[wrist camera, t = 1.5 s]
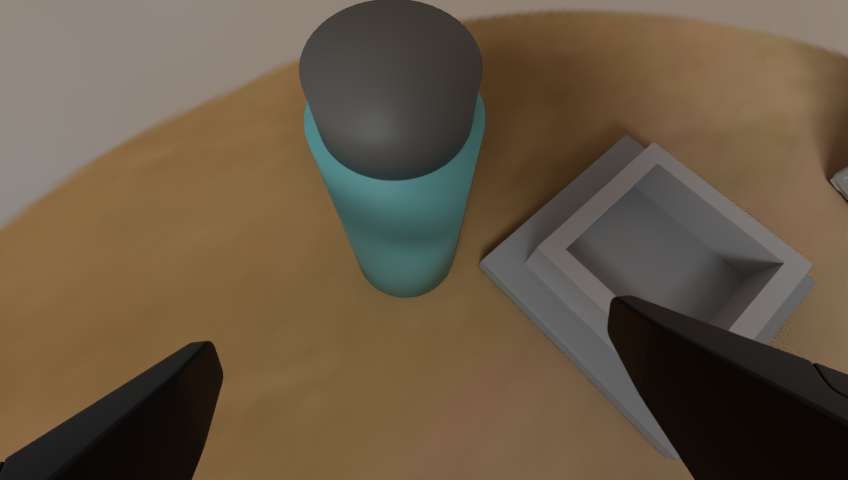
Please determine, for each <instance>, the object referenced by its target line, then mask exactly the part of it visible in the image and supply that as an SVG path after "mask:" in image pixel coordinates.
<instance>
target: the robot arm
mask: <svg viewBox="0 0 848 480" xmlns="http://www.w3.org/2000/svg"><path fill="white" fill-rule="evenodd" d="M607 332H608V335H609V338H610V340H611V342H612V344H613V346H614V348H615V350H616V352H617V354H618V355H619V357H620V359H621V361H622V363H623V365H624V367H625V369H626V371H627V373H628V375H629V377H630V379H631V381H632V383H633V384H634V386H635V388H636V390H637V392H638V393H639V395H640V397H641V398H642V400H643V402H644V403H645V405H646V406H647V408H648V409H649V411H650V412H651V414H652V415H653V417H654V418H655V420H656V421H657V423H658V424H659V426H660V428H661V429H662V431H663V432H664V434H665V435H666V437H667V438H668V440H669V441H670V443H671V444H672V446H673V447H674V449H675V450H676V452H677V453H678V455H679V456H680V458H681V459H682V461H683V462H684V464H685V466H686V467H687V469H688V470H689V472H690V473H691V475H692V476H693V478H694V479H695V480H848V375H847V374H845V373H842V372H839V371H836V370H834V369H831V368H828V367H825V366H823V365H820V364H817V363H814V364H812V362H811V361H809V360H806V359H804V358H801V357H798V356H795V355H793V354H790V353H787V352H784V351H782V350H779V349H776V348H774V347H771V346H768V345H765V344H763V343H760V342H757V341H755V340H752V339H749V338H746V337H744V336H741V335H738V334H736V333H733V332H730V331H727V330H725V329H722V328H719V327H717V326H714V325H711V324H708V323H706V322H703V321H700V320H698V319H695V318H692V317H689V316H687V315H684V314H681V313H679V312H676V311H673V310H670V309H668V308H665V307H662V306H660V305H657V304H654V303H651V302H649V301H646V300H643V299H641V298H638V297H635V296H632V295H625V296H616V297H614V298H612V300H611V302H610V308H609V316H608V324H607ZM222 382H223V370H222V367H221V364H220V361H219V358H218V355H217V352H216V349H215V346H214V344H213V343H212V342H210V341H202V342H193V343H190V344H188V345H186V346H185V347H183V348H181V349H180V350H178V351H177V352H175V353H173V354H172V355H170V356H169V357H167V358H165V359H164V360H162V361H161V362H159V363H157V364H156V365H154V366H153V367H151V368H149V369H148V370H146V371H145V372H143V373H142V374H140V375H138V376H137V377H135V378H134V379H132V380H130V381H129V382H127V383H126V384H124V385H122V386H121V387H119V388H118V389H116V390H114V391H113V392H111V393H110V394H108V395H106V396H105V397H103V398H102V399H100V400H98V401H97V402H95V403H94V404H92V405H90V406H89V407H87V408H86V409H84V410H82V411H81V412H79V413H78V414H76V415H74V416H73V417H71V418H70V419H68V420H66V421H65V422H63V423H62V424H60V425H58V426H57V427H55V428H54V429H52V430H51V431H49V432H47V433H46V434H44V435H43V436H41V437H39V438H38V439H36V440H35V441H33V442H31V443H30V444H28V445H27V446H25V447H23V448H22V449H20V450H19V451H17V452H15V453H14V454H12V455H11V456H9V457H7V458H6V459H5V462H0V480H192V477H193V475H194V472H195V470H196V467H197V465H198V462H199V460H200V457H201V454H202V452H203V449H204V446H205V443H206V439H207V436H208V433H209V429H210V425H211V422H212V418H213V414H214V411H215V407H216V404H217V400H218V396H219V393H220V389H221V386H222Z"/></svg>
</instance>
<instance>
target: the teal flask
mask: <svg viewBox="0 0 848 480" xmlns="http://www.w3.org/2000/svg"><path fill="white" fill-rule="evenodd" d="M481 75H482V59H481V55H480V51H479V48H478V46H477V43H476V41H475V40H474V38H473V36H472V35H471V33H470V32H469V31H468V30H467V29H466V28H465V26H464V25H462V24H461V23H460V22H459V21H458V20H457V19H455V18H454V17H452V16H451V15H450V14H448V13H446V12H444V11H442V10H441V9H438V8H436V7H433V6H431V5H428V4H425V3H421V2H416V1H411V0H374V1H368V2H364V3H360V4H357V5H354V6H351V7H349V8H346V9H344V10H342V11H340V12H338V13H336V14H335V15H333V16H331V17H330V18H328V19H327V20H326V21H325V22H323V23H322V24H321V25H320V26H319V27H318V28H317V29H316V30H315V31H314V32H313V34H312V35H311V37H310V38H309V39H308V41H307V43H306V45H305V47H304V49H303V52H302V55H301V58H300V65H299V76H300V81H301V85H302V88H303V91H304V94H305V96H306V99H307V104H306V107H305V113H304V129H305V134H306V138H307V141H308V144H309V146H310V149H311V151H312V154H313V156H314V158H315V161H316V163H317V165H318V168H319V170H320V173H321V175H322V177H323V180H324V182H325V184H326V187H327V189H328V192H329V194H330V196H331V199H332V201H333V203H334V206H335V208H336V211H337V213H338V215H339V218H340V220H341V222H342V225H343V227H344V230H345V232H346V234H347V237H348V239H349V241H350V244H351V246H352V249H353V251H354V253H355V256H356V258H357V260H358V263H359V265H360V268H361V270H362V272H363V274H364V276H365V277H366V278H367V280H368V281H369V282H370V283H371V284H372V285H373V286H374V287H375V288H377V289H378V290H380V291H382V292H383V293H386V294H388V295H391V296H395V297H416V296H420V295H423V294H425V293H428V292H429V291H431V290H433V289H434V288H436V287H437V286H438V285H439V284H440V283H441V282H442V281H443V280H444V279H445V278H446V276H447V275H448V273H449V271H450V269H451V266H452V263H453V259H454V255H455V251H456V246H457V242H458V238H459V234H460V230H461V226H462V221H463V217H464V213H465V209H466V205H467V201H468V196H469V192H470V188H471V184H472V180H473V176H474V171H475V167H476V163H477V159H478V155H479V151H480V147H481V142H482V138H483V134H484V130H485V121H486V116H485V107H484V103H483V99H482V97H481V94H480V92H479V87H480V81H481Z"/></svg>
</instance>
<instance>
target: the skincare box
mask: <svg viewBox="0 0 848 480" xmlns="http://www.w3.org/2000/svg"><path fill="white" fill-rule="evenodd" d="M830 182H831V183H832V184H833V186H834V187H835V188H836V189H837V190H838V191H840V192H841V193H842V195H843V196H844V197H845V198H846V199H847V200H848V167H846V168H844V169H842V170H840V171H838V172H837V173H835V174H834V176H833V178H832V179H830Z"/></svg>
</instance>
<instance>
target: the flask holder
mask: <svg viewBox="0 0 848 480" xmlns="http://www.w3.org/2000/svg"><path fill="white" fill-rule="evenodd" d="M812 266H813V264H812V263H811V262H809V261H808V260H807V259H805V258H804V257H803V256H802V255H800V254H799V253H798V252H796V251H795V250H794V249H792V248H791V247H790V246H789V245H787V244H786V243H785V242H783V241H782V240H781V239H779V238H778V237H777V236H776V235H774V234H773V233H772V232H770V231H769V230H768V229H767V228H765V227H764V226H763V225H761V224H760V223H759V222H757V221H756V220H755V219H754V218H752V217H751V216H750V215H748V214H747V213H746V212H744V211H743V210H742V209H741V208H739V207H738V206H737V205H735V204H734V203H733V202H731V201H730V200H729V199H728V198H726V197H725V196H724V195H722V194H721V193H720V192H719V191H717V190H716V189H715V188H713V187H712V186H711V185H709V184H708V183H707V182H706V181H704V180H703V179H702V178H700V177H699V176H698V175H696V174H695V173H694V172H693V171H691V170H690V169H689V168H687V167H686V166H685V165H683V164H682V163H681V162H680V161H678V160H677V159H676V158H674V157H673V156H672V155H671V154H669V153H668V152H667V151H665V150H664V149H663V148H661V147H660V146H659V145H658V144H656V143H655V142H653V143H652V144H650V145H649V146H648V147H647V148H646V149H645V148H644V147H643V146H642V145H640V144H639V143H638V142H637V141H635V140H634V139H633V138H631V137H630V136H629V135H628V134H626V135H625V136H624V137H623V138H621V139H620V140H619V141H618V142H617V143H616V144H615V145H613V146H612V147H611V148H610V149H609V150H608V151H607V152H605V153H604V154H603V155H602V156H601V157H600V158H599V159H597V160H596V161H595V162H594V163H593V164H592V165H590V166H589V167H588V168H587V169H586V170H585V171H584V172H582V173H581V174H580V175H579V176H578V177H577V178H576V179H574V180H573V181H572V182H571V183H570V184H569V185H568V186H566V187H565V188H564V189H563V190H562V191H561V192H560V193H558V194H557V195H556V196H555V197H554V198H553V199H551V200H550V201H549V202H548V203H547V204H546V205H545V206H543V207H542V208H541V209H540V210H539V211H538V212H537V213H535V214H534V215H533V216H532V217H531V218H530V219H529V220H527V221H526V222H525V223H524V224H523V225H522V226H521V227H519V228H518V229H517V230H516V231H515V232H514V233H512V234H511V235H510V236H509V237H508V238H507V239H506V240H504V241H503V242H502V243H501V244H500V245H499V246H498V247H496V248H495V249H494V250H493V251H492V252H491V253H490V254H488V255H487V256H486V257H485V258H484V259H483V260H482V261H481V262H480V265H479V268H480V269H481V270H482V271H483V272H484V273H485V274H486V275H487V276H488V277H489V278H490V279H491V280H492V281H493V282H494V283H495V284H496V285H497V286H498V287H499V288H500V289H501V290H502V291H503V292H504V293H505V294H506V295H507V296H508V297H509V298H510V299H511V300H512V301H513V302H514V303H515V304H516V305H517V306H518V307H519V309H520V310H521V311H522V312H523V313H524V314H525V315H526V316H527V317H528V318H529V319H530V320H531V321H532V322H533V323H534V324H535V325H536V326H537V327H538V328H539V329H540V330H541V331H542V332H543V333H544V334H545V335H546V336H547V337H548V338H549V339H550V340H551V341H552V342H553V343H554V344H555V345H556V346H557V347H558V348H559V349H560V351H561V352H562V353H563V354H564V355H565V356H566V357H567V358H568V359H569V360H570V361H571V362H572V363H573V364H574V365H575V366H576V367H577V368H578V369H579V370H580V371H581V372H582V373H583V374H584V375H585V376H586V377H587V378H588V379H589V380H590V381H591V382H592V383H593V384H594V385H595V386H596V387H597V388H598V389H599V390H600V391H601V393H602V394H603V395H604V396H605V397H606V398H607V399H608V400H609V401H610V402H611V403H612V404H613V405H614V406H615V407H616V408H617V409H618V410H619V411H620V412H621V413H622V414H623V415H624V416H625V417H626V418H627V419H628V420H629V421H630V422H631V423H632V424H633V425H634V426H635V427H636V428H637V429H638V430H639V431H640V432H641V433H642V435H643V436H644V437H645V438H646V439H647V440H648V441H649V442H650V443H651V444H652V445H653V446H654V447H655V448H656V449H657V450H658V451H659V452H660V453H661V454H662V455H663V456H664V457H665V458H669V459H674V460H678V458H679V457H680V456H679V455H678V453H677V452H676V450H675V449H674V447H673V446H672V444H671V443H670V441H669V440H668V438H667V437H666V435H665V434H664V432H663V431H662V429H661V428H660V426H659V424H658V423H657V421H656V420H655V418H654V417H653V415H652V414H651V412H650V411H649V409H648V408H647V406H646V405H645V403H644V402H643V400H642V398H641V397H640V395H639V393H638V392H637V390H636V388H635V386H634V384H633V383H632V381H631V379H630V377H629V375H628V373H627V371H626V369H625V367H624V365H623V363H622V361H621V359H620V357H619V355H618V354H617V352H616V350H615V348H614V346H613V344H612V342H611V340H610V338H609V335H608V332H607V324H608V316H609V308H610V302H611V300H612V298H614V297H616V296H625V295H632V296H635V297H638V298H641V299H643V300H646V301H649V302H651V303H654V304H657V305H660V306H662V307H665V308H668V309H670V310H673V311H676V312H679V313H681V314H684V315H687V316H689V317H692V318H695V319H698V320H700V321H703V322H706V323H708V324H711V325H714V326H717V327H719V328H722V329H725V330H727V331H730V332H733V333H736V334H738V335H741V336H744V337H746V338H749V339H752V340H755V341H757V342H760V343H763V344H765V345H768V343H769V342H770V341H771V340H772V338H773V337H774V336H775V335H776V333H777V332H778V331H779V329H780V328H781V327H782V326H783V324H784V323H785V322H786V320H787V319H788V318H789V317H790V315H791V314H792V313H793V312H794V310H795V309H796V308H797V306H798V305H799V304H800V303H801V301H802V300H803V299H804V297H805V296H806V295H807V294H808V292H809V291H810V290H811V289H812V287H813V286H814V285H815V283H816V281H814V280H813V279H812V278H810V277H809V276H808V275H807V272H808V271H809V270H810V269H811V267H812Z"/></svg>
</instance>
